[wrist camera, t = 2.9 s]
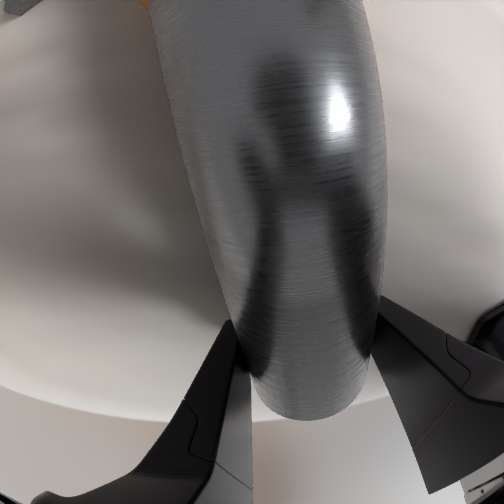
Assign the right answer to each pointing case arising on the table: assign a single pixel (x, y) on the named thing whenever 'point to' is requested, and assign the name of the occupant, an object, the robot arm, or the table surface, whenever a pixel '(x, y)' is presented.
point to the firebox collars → (19, 6)
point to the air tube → (285, 182)
